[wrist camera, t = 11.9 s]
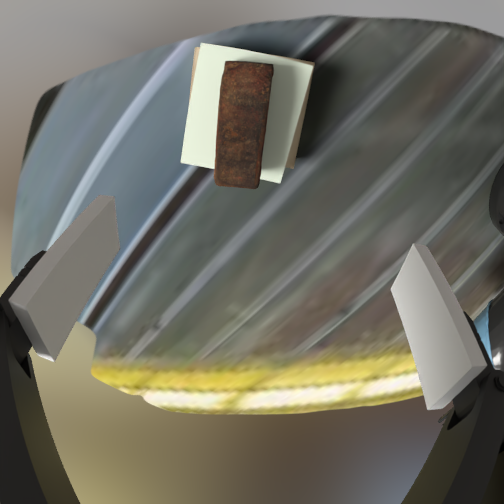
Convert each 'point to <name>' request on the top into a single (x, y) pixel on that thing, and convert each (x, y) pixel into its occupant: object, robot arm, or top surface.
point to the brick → (242, 123)
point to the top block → (279, 114)
